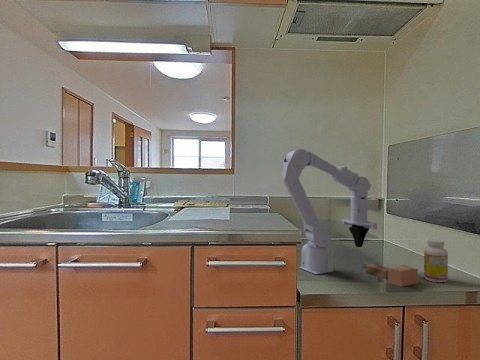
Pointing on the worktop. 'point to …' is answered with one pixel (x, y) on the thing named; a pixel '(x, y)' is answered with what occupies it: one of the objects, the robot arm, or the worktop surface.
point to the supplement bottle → (436, 261)
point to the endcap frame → (400, 275)
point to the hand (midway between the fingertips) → (358, 246)
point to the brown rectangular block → (377, 271)
